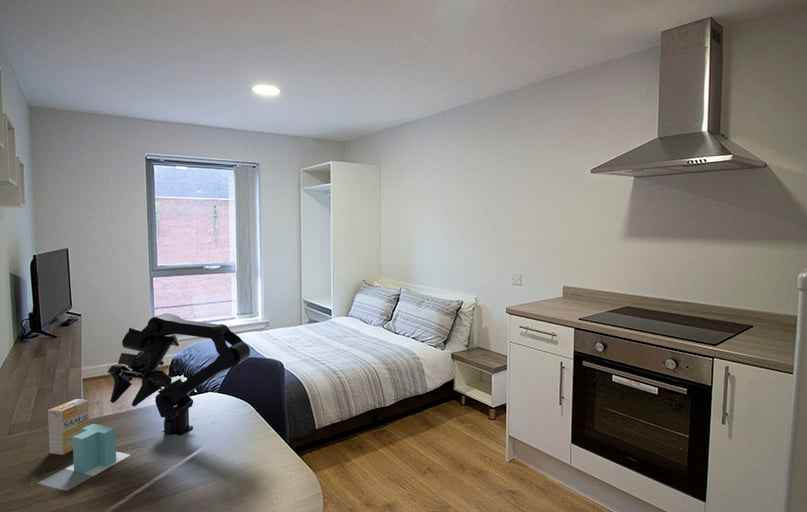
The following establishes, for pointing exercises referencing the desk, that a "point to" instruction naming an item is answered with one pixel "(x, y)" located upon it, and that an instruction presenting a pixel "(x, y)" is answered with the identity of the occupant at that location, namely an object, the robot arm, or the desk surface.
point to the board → (76, 475)
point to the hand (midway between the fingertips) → (122, 404)
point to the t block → (94, 447)
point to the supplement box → (66, 424)
